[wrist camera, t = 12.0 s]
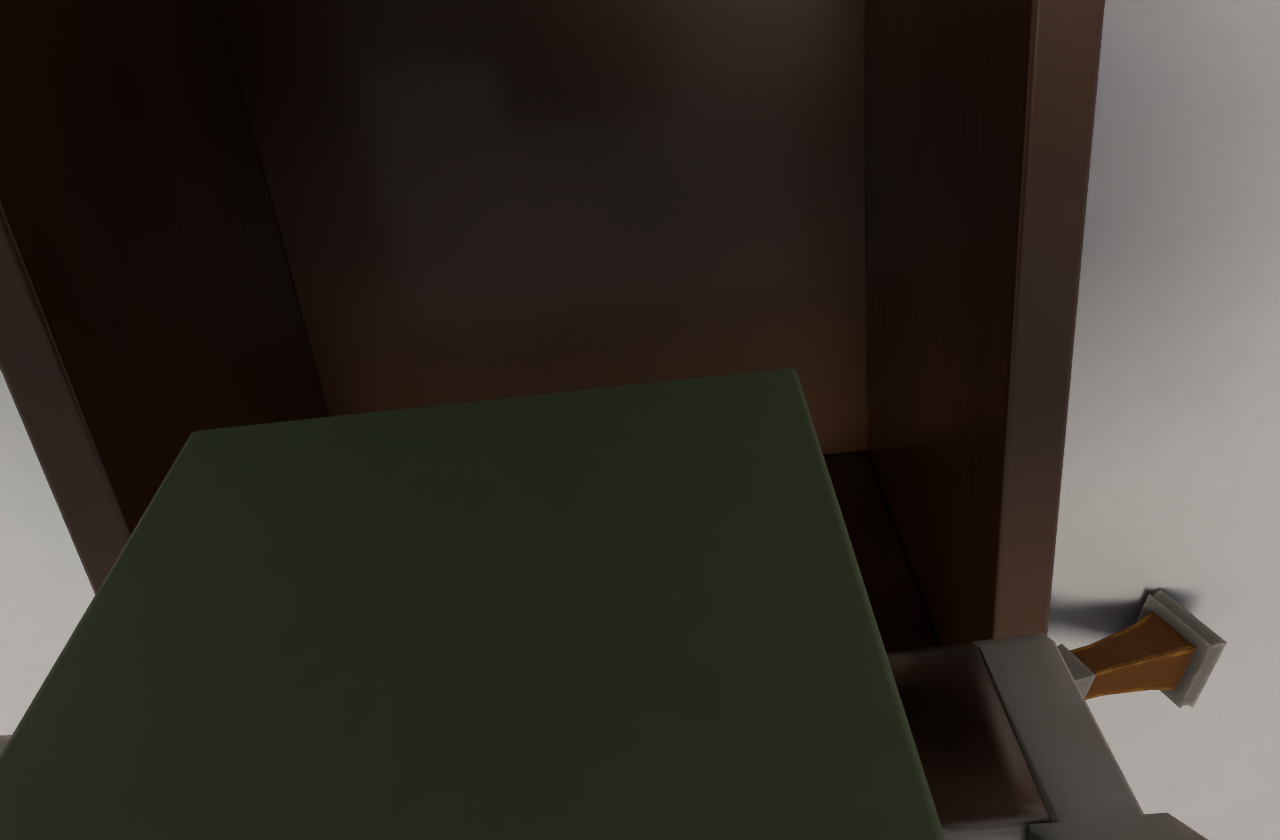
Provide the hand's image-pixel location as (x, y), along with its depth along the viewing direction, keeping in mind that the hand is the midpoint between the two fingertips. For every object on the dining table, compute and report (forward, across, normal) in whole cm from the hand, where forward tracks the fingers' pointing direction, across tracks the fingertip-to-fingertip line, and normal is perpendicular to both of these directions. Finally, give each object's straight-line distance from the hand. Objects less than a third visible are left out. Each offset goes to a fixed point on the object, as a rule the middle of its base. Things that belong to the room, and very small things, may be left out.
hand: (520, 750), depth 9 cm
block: (+1, 0, 0) cm, 1 cm away
